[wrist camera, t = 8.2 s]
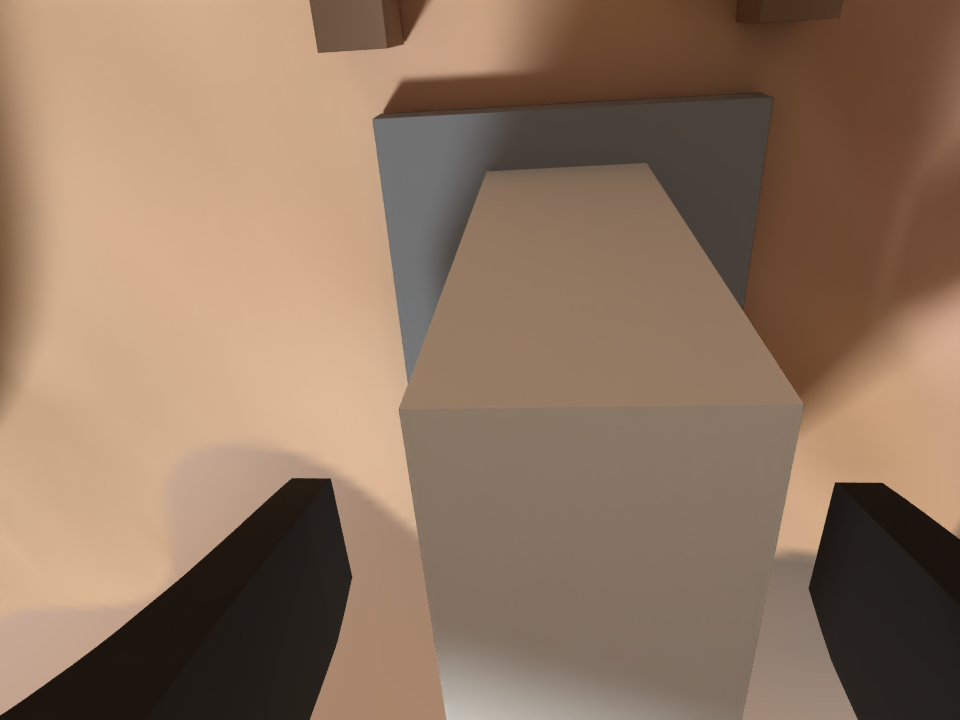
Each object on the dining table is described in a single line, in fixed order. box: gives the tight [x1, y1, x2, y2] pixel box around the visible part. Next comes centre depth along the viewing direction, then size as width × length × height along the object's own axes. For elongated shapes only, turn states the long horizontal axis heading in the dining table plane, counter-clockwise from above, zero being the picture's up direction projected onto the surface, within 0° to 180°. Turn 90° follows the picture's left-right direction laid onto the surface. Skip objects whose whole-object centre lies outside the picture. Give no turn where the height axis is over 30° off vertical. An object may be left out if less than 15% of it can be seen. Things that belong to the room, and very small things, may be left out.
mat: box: [373, 93, 773, 383], centre depth 13 cm, size 6×11×1 cm, turn 4°
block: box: [399, 163, 804, 720], centre depth 9 cm, size 2×9×7 cm, turn 4°
